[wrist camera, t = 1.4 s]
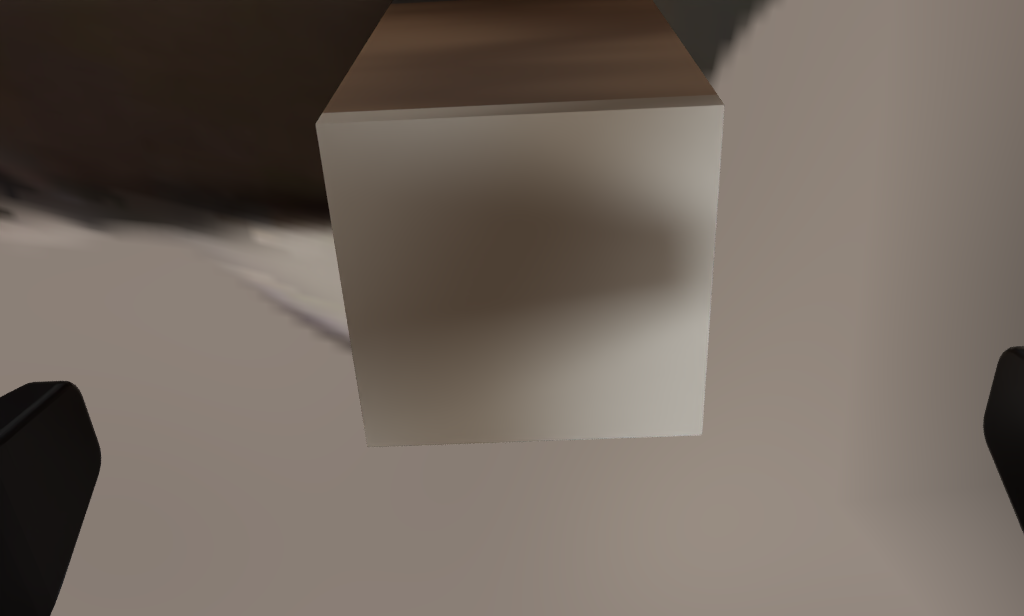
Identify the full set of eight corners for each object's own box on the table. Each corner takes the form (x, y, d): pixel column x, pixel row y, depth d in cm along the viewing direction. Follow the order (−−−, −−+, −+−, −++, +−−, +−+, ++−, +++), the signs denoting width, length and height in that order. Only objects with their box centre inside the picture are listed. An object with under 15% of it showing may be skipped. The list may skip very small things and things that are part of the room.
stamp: (641, -16, 16) (724, 104, 10) (637, 214, 18) (701, 435, 12) (394, -3, 16) (315, 124, 10) (418, 223, 19) (366, 447, 12)
